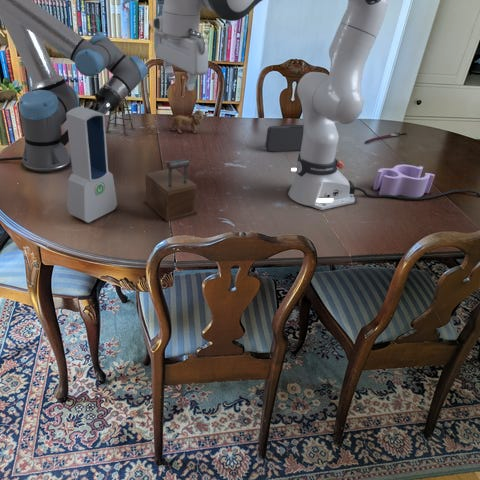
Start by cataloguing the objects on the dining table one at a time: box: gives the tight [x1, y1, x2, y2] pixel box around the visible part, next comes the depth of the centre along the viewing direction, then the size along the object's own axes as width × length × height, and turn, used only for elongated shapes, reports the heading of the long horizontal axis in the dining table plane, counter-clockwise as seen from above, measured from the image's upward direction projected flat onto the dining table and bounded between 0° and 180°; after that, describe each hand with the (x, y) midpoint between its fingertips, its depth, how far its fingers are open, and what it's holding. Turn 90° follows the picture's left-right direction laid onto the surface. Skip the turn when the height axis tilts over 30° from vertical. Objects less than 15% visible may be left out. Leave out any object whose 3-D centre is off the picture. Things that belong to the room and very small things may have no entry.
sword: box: [365, 132, 406, 144], centre depth 214 cm, size 31×3×1 cm, turn 126°
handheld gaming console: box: [264, 124, 303, 152], centre depth 189 cm, size 23×3×10 cm, turn 108°
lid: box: [145, 158, 197, 195], centre depth 135 cm, size 13×10×9 cm
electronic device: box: [66, 106, 118, 224], centre depth 127 cm, size 12×8×30 cm, turn 148°
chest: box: [145, 177, 196, 222], centre depth 140 cm, size 13×10×9 cm
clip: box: [372, 164, 436, 198], centre depth 166 cm, size 20×12×7 cm, turn 109°
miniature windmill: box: [106, 99, 134, 136], centre depth 184 cm, size 9×8×30 cm
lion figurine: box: [168, 109, 204, 134], centre depth 195 cm, size 15×5×9 cm, turn 110°
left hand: (67, 141), depth 146 cm, fingers open, 13 cm apart
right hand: (179, 84), depth 119 cm, fingers open, 8 cm apart
